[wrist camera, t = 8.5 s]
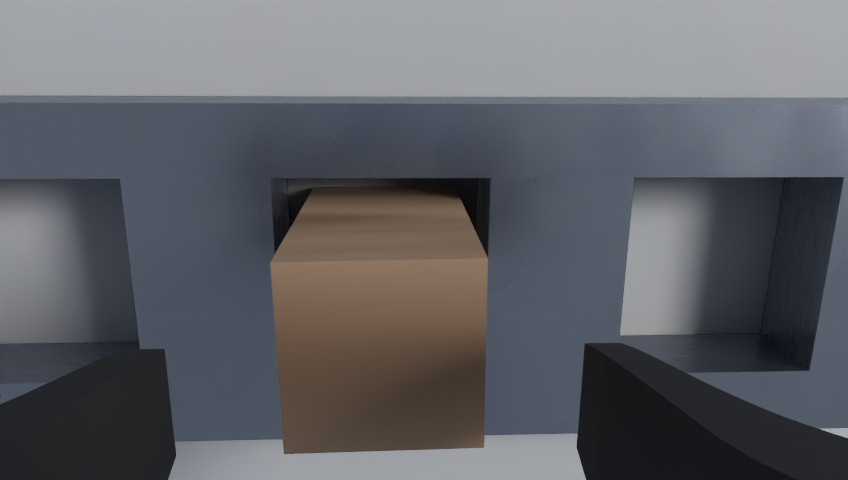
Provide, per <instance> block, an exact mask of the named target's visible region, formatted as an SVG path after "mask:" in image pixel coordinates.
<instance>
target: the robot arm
mask: <svg viewBox="0 0 848 480" xmlns="http://www.w3.org/2000/svg"><path fill="white" fill-rule="evenodd" d="M577 450H578V453H579V457H580V460H581V463H582V467H583V470H584V474H585V477H586V480H848V438H845V437H841V436H838V435H835V434H832V433H829V432H826V431H823V430H820V429H817V428H815V427H812V426H809V425H806V424H803V423H800V422H797V421H795V420H792V419H789V418H786V417H784V416H781V415H779V414H776V413H773V412H771V411H768V410H766V409H764V408H761V407H759V406H757V405H754V404H752V403H750V402H747V401H745V400H743V399H740V398H738V397H736V396H733V395H731V394H729V393H727V392H725V391H723V390H720V389H718V388H716V387H714V386H712V385H710V384H708V383H706V382H704V381H701V380H699V379H697V378H695V377H693V376H691V375H689V374H687V373H685V372H683V371H681V370H679V369H677V368H675V367H673V366H671V365H669V364H667V363H665V362H663V361H661V360H659V359H657V358H655V357H653V356H651V355H649V354H647V353H645V352H642V351H640V350H638V349H636V348H633V347H631V346H628V345H625V344H622V343H585V346H584V359H583V372H582V385H581V398H580V411H579V424H578V438H577ZM175 457H176V450H175V441H174V431H173V422H172V413H171V404H170V394H169V385H168V376H167V366H166V357H165V349H128V350H124V351H120V352H117V353H114V354H111V355H109V356H106V357H104V358H102V359H99V360H97V361H95V362H92V363H90V364H88V365H86V366H83V367H81V368H79V369H77V370H75V371H73V372H70V373H68V374H66V375H64V376H62V377H60V378H58V379H55V380H53V381H51V382H49V383H47V384H45V385H43V386H40V387H38V388H36V389H34V390H32V391H30V392H27V393H25V394H23V395H21V396H18V397H16V398H14V399H11V400H9V401H7V402H4V403H2V404H0V480H168V478H169V475H170V472H171V469H172V466H173V463H174V460H175Z"/></svg>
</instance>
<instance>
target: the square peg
mask: <svg viewBox="0 0 848 480" xmlns="http://www.w3.org/2000/svg"><path fill="white" fill-rule="evenodd" d="M270 267H271V281H272V295H273V309H274V323H275V336H276V350H277V364H278V378H279V392H280V406H281V419H282V433H283V447H284V454H295V453H327V452H359V451H391V450H423V449H455V448H484V420H485V373H486V326H487V278H488V257H487V255H486V253H485V251H484V249H483V246H482V244H481V242H480V240H479V238H478V236H477V233H476V231H475V229H474V227H473V225H472V223H471V220H470V218H469V216H468V214H467V212H466V210H465V207H464V205H463V203H462V201H461V199H460V197H459V194H458V192H457V190H456V188H455V186H454V185H443V186H375V187H314V188H313V190H312V191H311V193H310V195H309V197H308V198H307V200H306V202H305V203H304V205H303V207H302V209H301V210H300V212H299V214H298V215H297V217H296V219H295V221H294V222H293V224H292V226H291V227H290V229H289V231H288V233H287V234H286V236H285V238H284V239H283V241H282V243H281V245H280V246H279V248H278V250H277V251H276V253H275V255H274V257H273V258H272V260H271V262H270Z"/></svg>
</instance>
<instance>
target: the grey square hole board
mask: <svg viewBox="0 0 848 480" xmlns="http://www.w3.org/2000/svg"><path fill="white" fill-rule="evenodd" d="M664 177H785V182H784V189H783V195H782V202H781V208H780V215H779V221H778V228H777V234H776V241H775V247H774V254H773V260H772V266H771V273H770V279H769V286H768V292H767V299H766V305H765V312H764V318H763V325H762V331H761V334H718V335H643V336H620V325H621V315H622V304H623V293H624V282H625V271H626V260H627V250H628V239H629V228H630V217H631V206H632V196H633V185H634V178H664ZM287 178H478V190H477V225H476V233H477V236H478V238H479V240H480V242H481V244H482V246H483V249H484V251H485V253H486V255H487V257H488V278H487V326H486V373H485V420H484V435H512V434H562V433H578V424H579V411H580V398H581V385H582V372H583V359H584V346H585V343H622V344H625V345H628V346H631V347H633V348H636V349H638V350H640V351H642V352H645V353H647V354H649V355H651V356H653V357H655V358H657V359H659V360H661V361H663V362H665V363H667V364H669V365H671V366H673V367H675V368H677V369H679V370H681V371H683V372H685V373H687V374H689V375H691V376H693V377H695V378H697V379H699V380H701V381H704V382H706V383H708V384H710V385H712V386H714V387H716V388H718V389H720V390H723V391H725V392H727V393H729V394H731V395H733V396H736V397H738V398H740V399H743V400H745V401H747V402H750V403H752V404H754V405H757V406H759V407H761V408H764V409H766V410H768V411H771V412H773V413H776V414H779V415H781V416H784V417H786V418H789V419H792V420H795V421H797V422H800V423H803V424H806V425H809V426H812V427H815V428H848V98H613V97H275V96H0V179H120V186H121V194H122V203H123V211H124V220H125V228H126V236H127V245H128V253H129V261H130V270H131V278H132V286H133V295H134V303H135V311H136V320H137V328H138V336H139V342H119V343H45V344H0V404H2V403H4V402H7V401H9V400H11V399H14V398H16V397H18V396H21V395H23V394H25V393H27V392H30V391H32V390H34V389H36V388H38V387H40V386H43V385H45V384H47V383H49V382H51V381H53V380H55V379H58V378H60V377H62V376H64V375H66V374H68V373H70V372H73V371H75V370H77V369H79V368H81V367H83V366H86V365H88V364H90V363H92V362H95V361H97V360H99V359H102V358H104V357H106V356H109V355H111V354H114V353H117V352H120V351H124V350H128V349H165V357H166V366H167V376H168V385H169V394H170V404H171V413H172V422H173V431H174V441H212V440H262V439H283V433H282V419H281V406H280V392H279V378H278V364H277V350H276V336H275V323H274V309H273V295H272V281H271V267H270V262H271V260H272V258H273V257H274V255H275V253H276V251H277V250H278V248H279V246H280V245H281V243H282V241H283V239H284V238H285V236H286V234H287V233H288V231H289V229H290V228H289V209H288V189H287Z"/></svg>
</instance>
